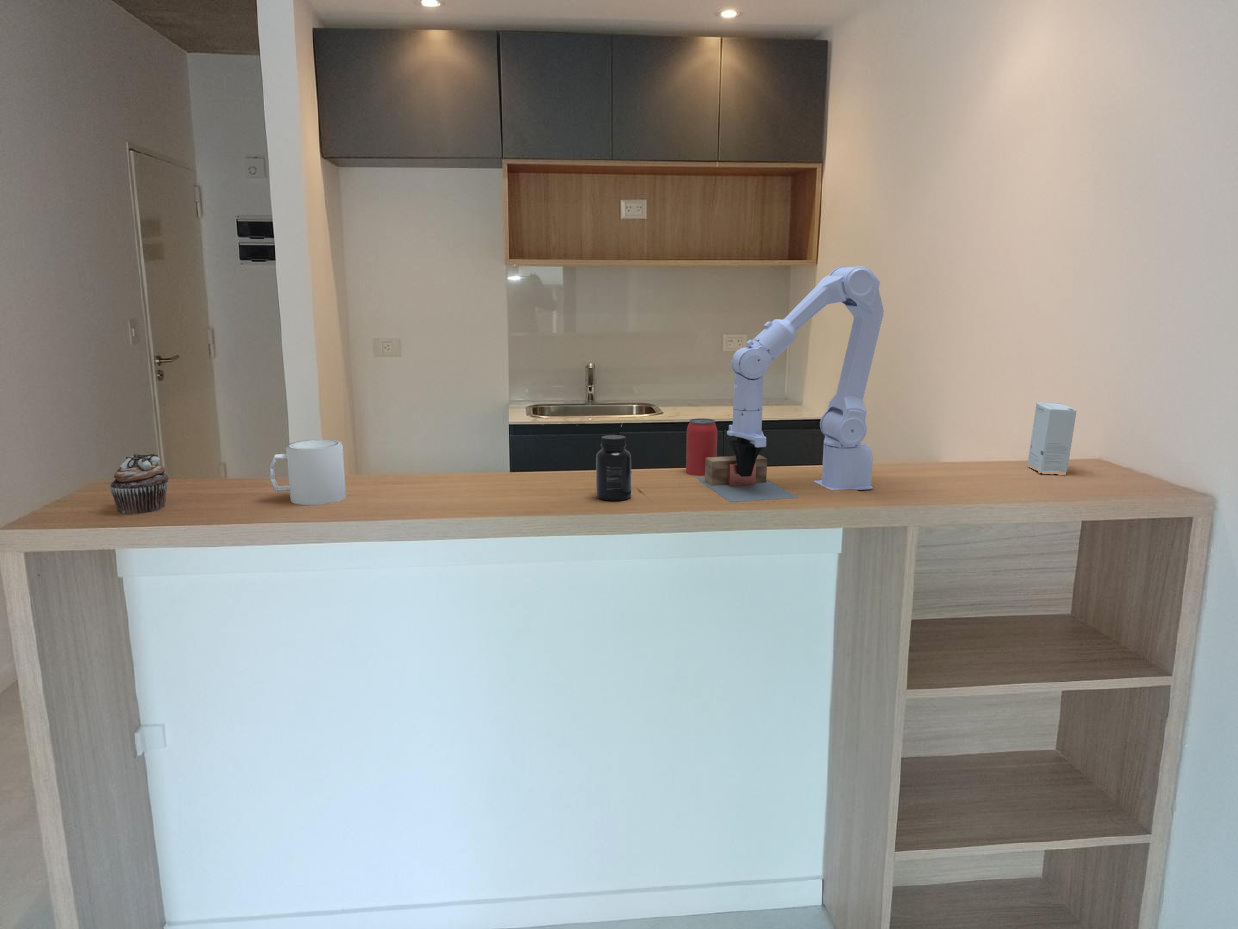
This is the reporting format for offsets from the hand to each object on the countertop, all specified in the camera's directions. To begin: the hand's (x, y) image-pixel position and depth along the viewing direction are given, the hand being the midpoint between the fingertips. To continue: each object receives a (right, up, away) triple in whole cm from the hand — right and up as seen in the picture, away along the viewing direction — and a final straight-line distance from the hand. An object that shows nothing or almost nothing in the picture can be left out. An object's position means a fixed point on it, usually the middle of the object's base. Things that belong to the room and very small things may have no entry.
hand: (745, 475), depth 174 cm
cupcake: (-114, -6, -13) cm, 115 cm away
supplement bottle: (-26, -4, -5) cm, 27 cm away
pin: (-1, -1, +5) cm, 5 cm away
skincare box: (+70, +1, +18) cm, 72 cm away
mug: (-85, -4, -6) cm, 85 cm away
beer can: (-8, 0, +14) cm, 16 cm away
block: (-1, -1, +5) cm, 6 cm away
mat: (0, -3, +1) cm, 3 cm away
